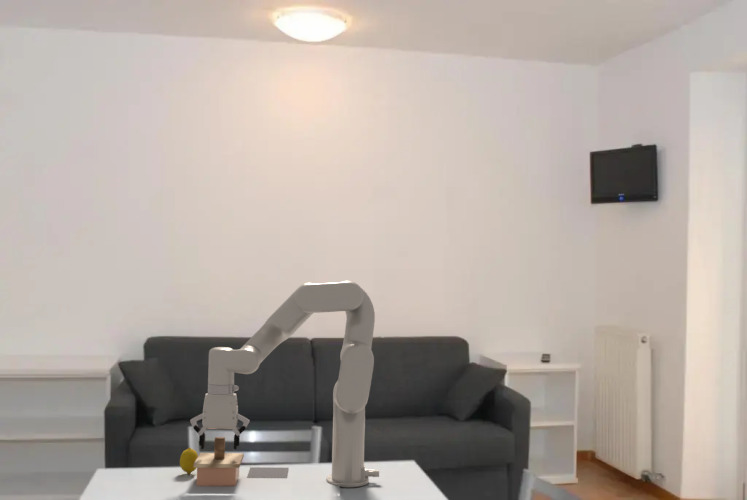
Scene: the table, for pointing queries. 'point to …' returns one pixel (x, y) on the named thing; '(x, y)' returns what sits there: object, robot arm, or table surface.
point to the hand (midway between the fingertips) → (219, 448)
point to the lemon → (188, 460)
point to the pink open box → (217, 476)
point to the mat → (267, 472)
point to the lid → (219, 457)
